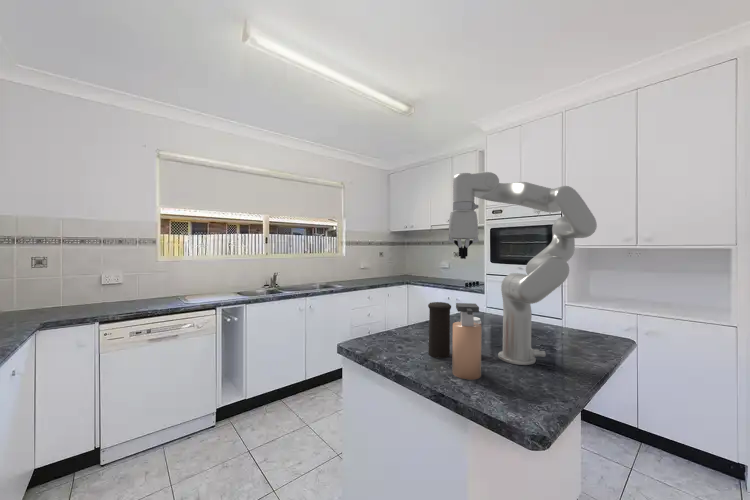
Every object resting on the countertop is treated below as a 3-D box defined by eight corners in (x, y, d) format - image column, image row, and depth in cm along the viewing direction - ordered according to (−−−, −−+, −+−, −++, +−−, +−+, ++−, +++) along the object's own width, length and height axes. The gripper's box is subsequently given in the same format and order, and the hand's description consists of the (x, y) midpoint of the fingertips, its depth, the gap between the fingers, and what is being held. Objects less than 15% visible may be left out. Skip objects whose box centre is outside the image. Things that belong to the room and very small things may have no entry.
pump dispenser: (478, 369, 107) (479, 308, 107) (483, 380, 98) (484, 314, 98) (451, 367, 108) (451, 307, 108) (453, 378, 99) (454, 313, 99)
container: (449, 351, 125) (449, 300, 125) (452, 359, 116) (452, 305, 116) (426, 350, 126) (427, 300, 126) (428, 358, 117) (429, 304, 117)
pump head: (475, 322, 106) (475, 303, 105) (480, 330, 96) (481, 309, 95) (455, 321, 107) (456, 302, 106) (459, 329, 97) (459, 308, 96)
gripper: (483, 209, 118) (482, 258, 118) (441, 209, 120) (441, 257, 120) (486, 206, 110) (486, 259, 111) (443, 207, 113) (442, 258, 113)
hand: (463, 258), depth 115 cm, fingers closed
